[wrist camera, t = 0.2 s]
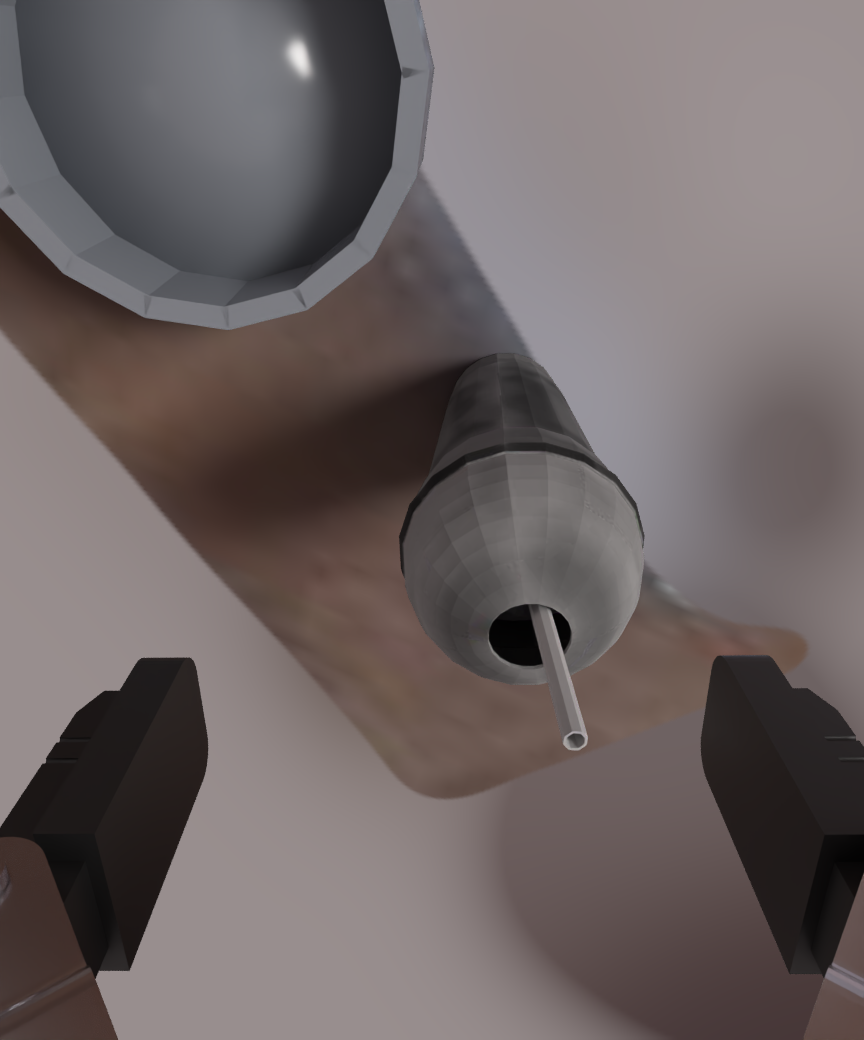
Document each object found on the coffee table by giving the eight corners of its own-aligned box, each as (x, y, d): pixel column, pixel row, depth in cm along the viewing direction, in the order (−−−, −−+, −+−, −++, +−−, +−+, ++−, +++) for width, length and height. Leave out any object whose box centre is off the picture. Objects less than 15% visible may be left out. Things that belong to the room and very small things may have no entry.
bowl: (84, -317, 23) (6, -393, 19) (512, -8, 26) (520, -18, 22) (-37, 161, 29) (-114, 178, 26) (316, 358, 33) (296, 399, 29)
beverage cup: (390, 439, 35) (316, 827, 17) (465, 287, 31) (467, 583, 14) (536, 505, 36) (603, 923, 19) (625, 367, 33) (804, 724, 15)
